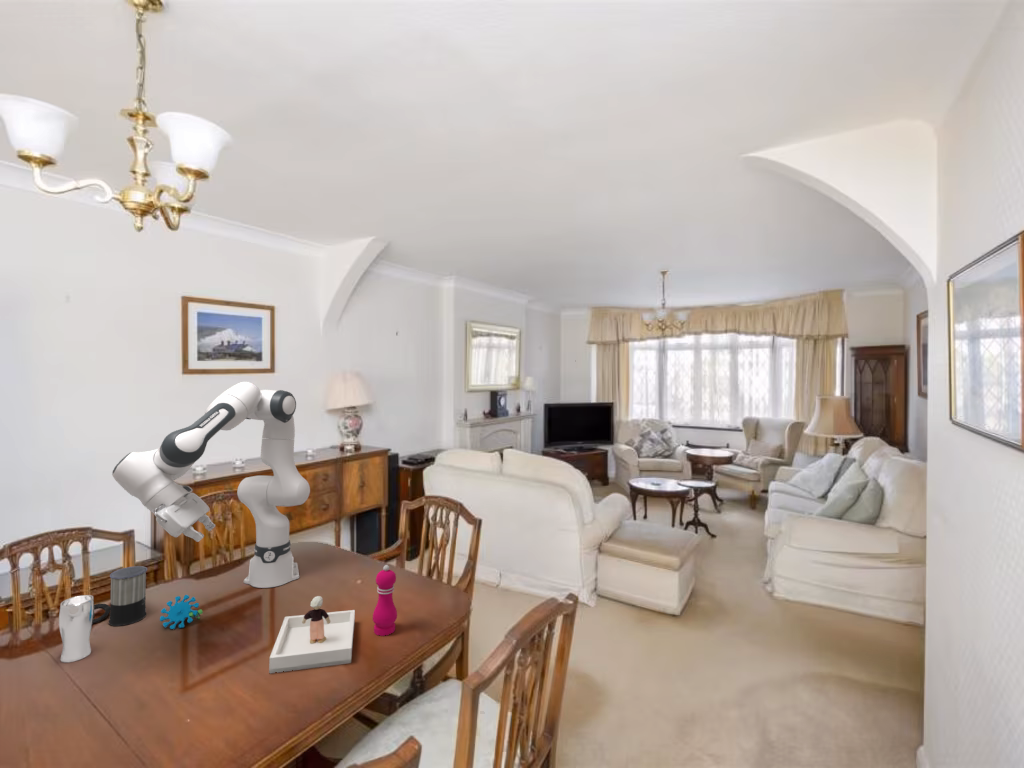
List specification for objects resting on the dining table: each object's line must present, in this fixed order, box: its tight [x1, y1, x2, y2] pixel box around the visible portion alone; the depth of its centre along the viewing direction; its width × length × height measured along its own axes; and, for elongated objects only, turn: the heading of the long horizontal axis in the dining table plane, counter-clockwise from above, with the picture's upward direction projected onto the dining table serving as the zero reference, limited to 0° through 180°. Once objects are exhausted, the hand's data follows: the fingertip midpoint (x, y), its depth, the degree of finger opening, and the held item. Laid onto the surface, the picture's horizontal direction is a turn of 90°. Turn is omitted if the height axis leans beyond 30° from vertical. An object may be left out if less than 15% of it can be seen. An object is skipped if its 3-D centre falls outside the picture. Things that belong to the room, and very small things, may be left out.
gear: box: [159, 594, 203, 630], centre depth 147 cm, size 11×6×10 cm
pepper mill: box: [372, 564, 398, 637], centre depth 145 cm, size 7×7×20 cm
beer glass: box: [58, 594, 95, 663], centre depth 128 cm, size 7×7×15 cm
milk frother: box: [93, 565, 148, 627], centre depth 147 cm, size 14×16×15 cm
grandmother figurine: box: [302, 595, 331, 644], centre depth 137 cm, size 8×4×13 cm, turn 109°
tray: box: [268, 609, 356, 674], centre depth 136 cm, size 22×20×4 cm
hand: (207, 533), depth 135 cm, fingers open, 8 cm apart
